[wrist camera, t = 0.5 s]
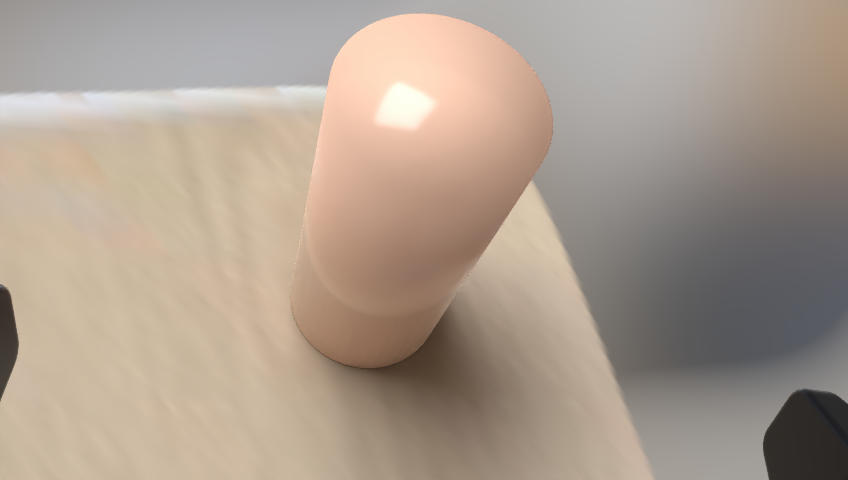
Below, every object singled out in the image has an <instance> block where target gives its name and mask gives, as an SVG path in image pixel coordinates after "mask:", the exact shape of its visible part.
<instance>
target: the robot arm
mask: <svg viewBox="0 0 848 480" xmlns="http://www.w3.org/2000/svg"><path fill="white" fill-rule="evenodd" d="M18 347H19V341H18V334H17V328H16V322H15V316H14V311H13V305H12V299H11V295H10V292H9V290H8V289H7V288H6V287H5V286H3V285H1V284H0V401H1V398H2V395H3V393H4V390H5V388H6V385H7V383H8V380H9V378H10V375H11V373H12V370H13V367H14V365H15V362H16V359H17V355H18ZM763 452H764V457H765V462H766V467H767V472H768V477H769V480H848V404H847V403H846V402H845V401H844V400H842V399H841V398H840V397H839V396H837V395H836V394H833V393H831V392H827V391H819V390H812V389H798V390H797V391H795V392H793V393H792V394H791V395H790V397H789V398H788V400H787V401H786V402H785V404H784V405H783V407H782V408H781V410H780V411H779V413H778V414H777V416H776V417H775V419H774V420H773V422H772V423H771V425H770V426H769V427H768V429H767V431H766V433H765V436H764V442H763Z"/></svg>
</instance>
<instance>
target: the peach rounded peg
mask: <svg viewBox="0 0 848 480" xmlns="http://www.w3.org/2000/svg"><path fill="white" fill-rule="evenodd" d="M552 134H553V115H552V109H551V105H550V101H549V98H548V95H547V93H546V91H545V88H544V86H543V84H542V82H541V81H540V79H539V77H538V76H537V74H536V73H535V71H534V70H533V69H532V67H531V66H530V65H529V64H528V63H527V61H526V60H525V59H524V58H523V57H522V56H521V55H520V54H519V53H518V52H517V51H516V50H514V49H513V48H512V47H511V46H510V45H509V44H507V43H506V42H504V41H503V40H501V39H500V38H499V37H497V36H495V35H493V34H492V33H490V32H488V31H486V30H485V29H483V28H480V27H478V26H476V25H474V24H471V23H468V22H465V21H463V20H459V19H456V18H452V17H447V16H442V15H435V14H404V15H398V16H393V17H389V18H386V19H382V20H379V21H377V22H375V23H372V24H370V25H368V26H367V27H365V28H363V29H362V30H360V31H358V32H357V33H356V34H355V35H354V36H352V38H350V39H349V40H348V41H347V42H346V44H345V45H344V46H343V47H342V48H341V50H340V52H339V53H338V55H337V57H336V58H335V61H334V63H333V66H332V68H331V73H330V77H329V83H328V88H327V93H326V99H325V104H324V110H323V115H322V120H321V126H320V131H319V137H318V142H317V148H316V153H315V158H314V164H313V169H312V175H311V180H310V186H309V191H308V196H307V202H306V207H305V213H304V218H303V223H302V229H301V234H300V240H299V245H298V251H297V256H296V261H295V267H294V272H293V278H292V283H291V290H290V300H291V308H292V312H293V316H294V318H295V321H296V323H297V325H298V327H299V329H300V331H301V332H302V334H303V335H304V336H305V338H306V339H307V340H308V342H309V343H310V344H311V345H312V346H313V347H314V348H316V349H317V350H318V351H319V352H321V353H322V354H323V355H325V356H327V357H328V358H330V359H332V360H334V361H337V362H339V363H341V364H345V365H348V366H352V367H358V368H379V367H385V366H389V365H392V364H395V363H398V362H400V361H402V360H404V359H406V358H408V357H409V356H410V355H412V354H413V353H415V352H416V351H417V350H418V349H419V348H420V347H421V346H422V345H423V343H424V342H425V341H426V340H427V338H428V337H429V335H430V334H431V332H432V331H433V329H434V328H435V326H436V325H437V323H438V321H439V320H440V318H441V317H442V315H443V314H444V312H445V311H446V309H447V308H448V306H449V305H450V303H451V302H452V300H453V299H454V297H455V295H456V294H457V292H458V291H459V289H460V288H461V286H462V285H463V283H464V282H465V280H466V279H467V277H468V276H469V274H470V273H471V271H472V269H473V268H474V266H475V265H476V263H477V262H478V260H479V259H480V257H481V256H482V254H483V253H484V251H485V250H486V248H487V247H488V245H489V243H490V242H491V240H492V239H493V237H494V236H495V234H496V233H497V231H498V230H499V228H500V227H501V225H502V224H503V222H504V221H505V219H506V217H507V216H508V214H509V213H510V211H511V210H512V208H513V207H514V205H515V204H516V202H517V201H518V199H519V198H520V196H521V195H522V193H523V191H524V190H525V188H526V187H527V185H528V184H529V182H530V181H531V179H532V177H533V176H534V174H535V173H536V172H537V170H538V169H539V167H540V165H541V164H542V162H543V160H544V158H545V157H546V155H547V153H548V150H549V147H550V144H551V140H552Z"/></svg>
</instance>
